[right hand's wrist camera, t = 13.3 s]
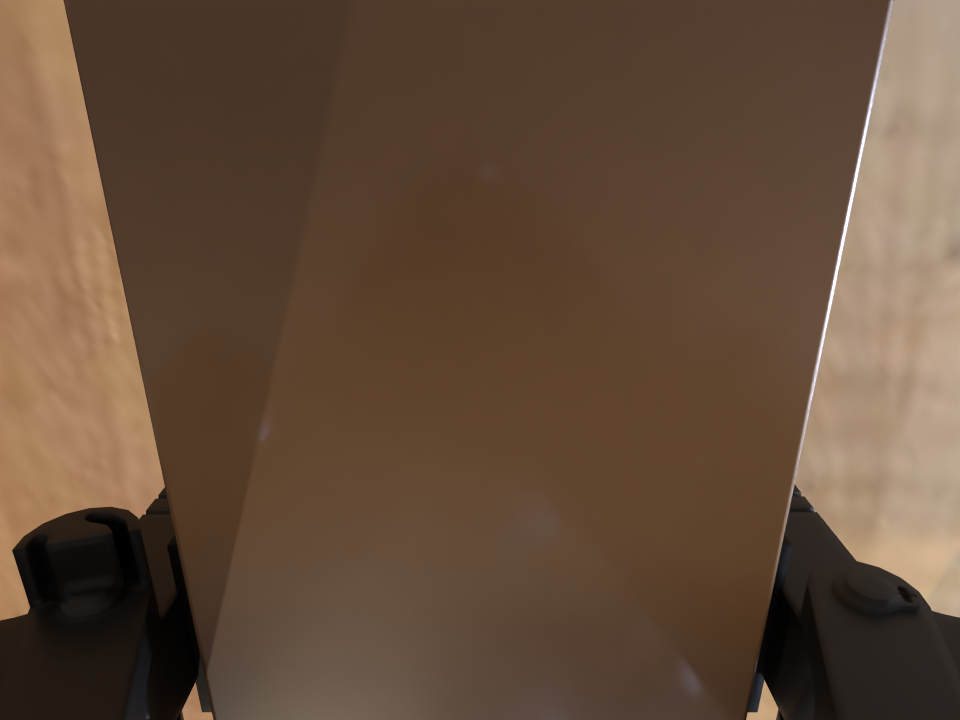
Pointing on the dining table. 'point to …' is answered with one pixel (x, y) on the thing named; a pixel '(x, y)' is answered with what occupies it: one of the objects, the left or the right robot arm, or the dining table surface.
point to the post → (479, 333)
